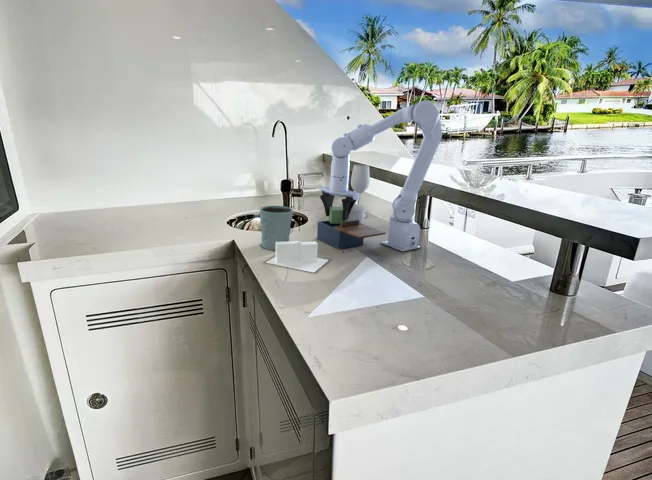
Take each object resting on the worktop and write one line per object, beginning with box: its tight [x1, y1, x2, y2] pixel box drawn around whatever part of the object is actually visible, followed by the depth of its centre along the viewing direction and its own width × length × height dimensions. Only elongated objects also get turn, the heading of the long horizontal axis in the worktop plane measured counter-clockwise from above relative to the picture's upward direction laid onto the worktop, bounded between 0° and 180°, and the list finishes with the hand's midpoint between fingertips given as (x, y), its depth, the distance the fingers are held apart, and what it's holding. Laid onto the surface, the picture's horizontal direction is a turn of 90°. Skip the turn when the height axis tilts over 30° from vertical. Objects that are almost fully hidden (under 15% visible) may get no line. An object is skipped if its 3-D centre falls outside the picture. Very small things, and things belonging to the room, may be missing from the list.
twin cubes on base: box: [265, 240, 329, 274], centre depth 107 cm, size 15×11×6 cm
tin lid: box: [333, 219, 387, 239], centre depth 117 cm, size 12×10×2 cm
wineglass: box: [350, 164, 371, 218], centre depth 157 cm, size 8×8×21 cm
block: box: [328, 206, 345, 224], centre depth 126 cm, size 5×5×5 cm
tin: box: [316, 219, 364, 250], centre depth 126 cm, size 12×10×6 cm
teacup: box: [335, 203, 366, 224], centre depth 144 cm, size 14×11×8 cm
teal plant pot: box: [259, 205, 294, 251], centre depth 119 cm, size 10×10×12 cm
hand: (336, 217), depth 126 cm, fingers closed on block, 6 cm apart
